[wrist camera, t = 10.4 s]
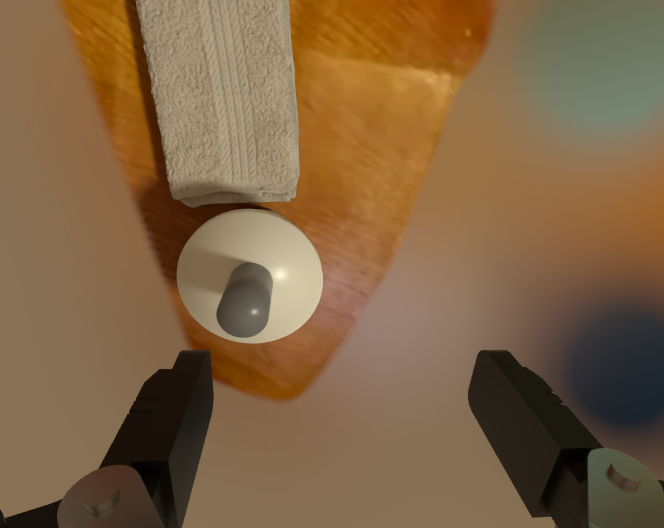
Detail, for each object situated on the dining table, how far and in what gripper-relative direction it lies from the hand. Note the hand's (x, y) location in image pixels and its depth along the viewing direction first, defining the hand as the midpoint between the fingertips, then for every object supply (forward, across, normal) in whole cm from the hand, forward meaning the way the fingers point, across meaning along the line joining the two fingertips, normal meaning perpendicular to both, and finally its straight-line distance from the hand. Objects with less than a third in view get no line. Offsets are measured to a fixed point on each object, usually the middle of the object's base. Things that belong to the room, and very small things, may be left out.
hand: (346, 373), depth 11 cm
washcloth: (+28, +8, -7) cm, 30 cm away
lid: (+21, +5, +7) cm, 23 cm away
